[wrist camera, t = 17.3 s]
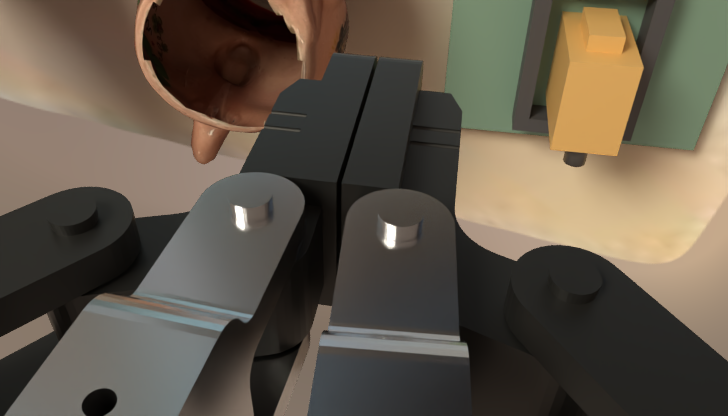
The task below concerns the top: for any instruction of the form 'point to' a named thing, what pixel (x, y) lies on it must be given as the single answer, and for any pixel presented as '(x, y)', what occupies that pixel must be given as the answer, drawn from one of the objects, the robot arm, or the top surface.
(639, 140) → the board
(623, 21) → the keyed plug
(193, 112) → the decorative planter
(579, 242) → the top surface
